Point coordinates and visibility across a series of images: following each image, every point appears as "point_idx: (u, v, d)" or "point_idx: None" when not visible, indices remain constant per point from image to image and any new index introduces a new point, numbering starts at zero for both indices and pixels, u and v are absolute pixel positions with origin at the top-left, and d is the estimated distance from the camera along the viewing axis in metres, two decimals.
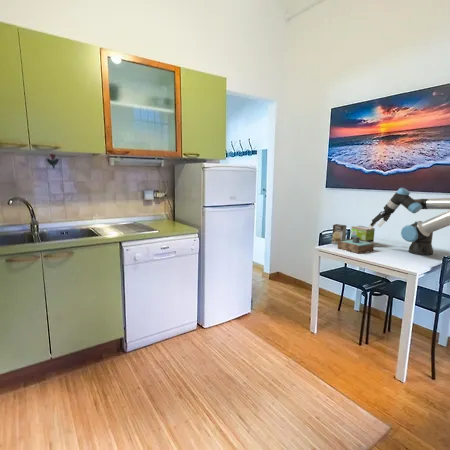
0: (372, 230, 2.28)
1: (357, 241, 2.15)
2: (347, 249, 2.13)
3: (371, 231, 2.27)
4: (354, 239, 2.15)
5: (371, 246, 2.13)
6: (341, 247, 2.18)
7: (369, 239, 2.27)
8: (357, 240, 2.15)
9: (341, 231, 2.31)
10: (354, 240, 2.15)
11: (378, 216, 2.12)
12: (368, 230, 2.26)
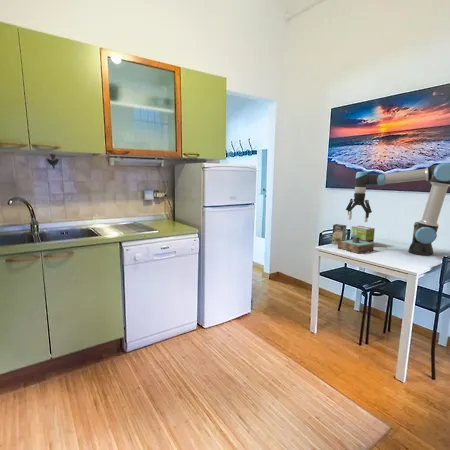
0: (372, 230, 2.28)
1: (357, 241, 2.15)
2: (347, 249, 2.13)
3: (371, 231, 2.27)
4: (354, 239, 2.15)
5: (371, 246, 2.13)
6: (341, 247, 2.18)
7: (369, 239, 2.27)
8: (357, 240, 2.15)
9: (341, 231, 2.31)
10: (354, 240, 2.15)
11: (368, 205, 2.05)
12: (368, 230, 2.26)
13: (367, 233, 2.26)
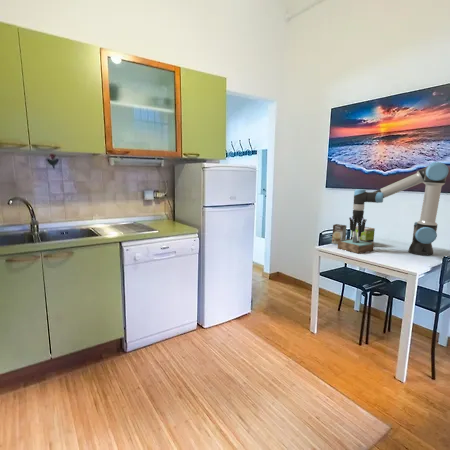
0: (372, 230, 2.28)
1: (357, 241, 2.15)
2: (347, 249, 2.13)
3: (371, 231, 2.27)
4: (354, 239, 2.15)
5: (371, 246, 2.13)
6: (341, 247, 2.18)
7: (369, 239, 2.27)
8: None
9: (341, 231, 2.31)
10: (354, 240, 2.15)
11: (364, 224, 2.10)
12: (368, 230, 2.26)
13: (367, 233, 2.26)
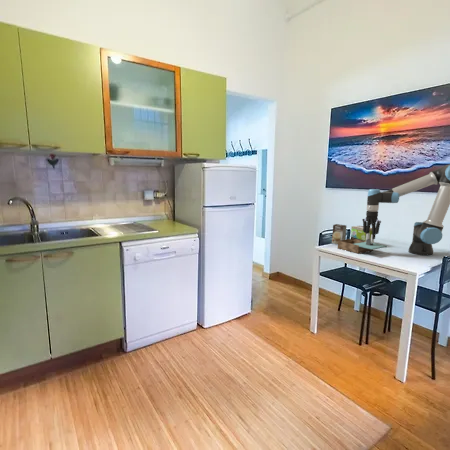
0: None
1: (371, 244, 2.06)
2: (347, 249, 2.13)
3: (371, 231, 2.27)
4: (368, 241, 2.06)
5: None
6: (341, 247, 2.18)
7: None
8: None
9: (341, 231, 2.31)
10: (368, 242, 2.06)
11: (378, 226, 2.00)
12: None
13: None
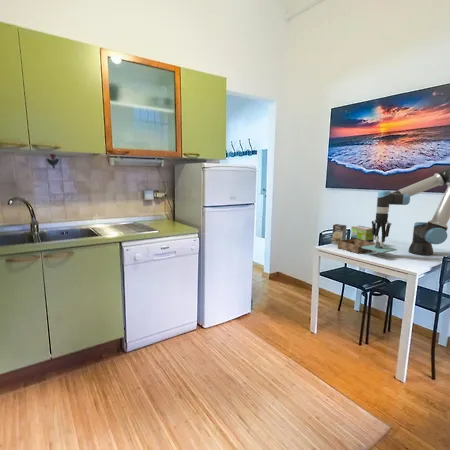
0: None
1: (380, 247, 1.99)
2: (347, 249, 2.13)
3: (371, 231, 2.27)
4: (377, 244, 1.99)
5: None
6: (341, 247, 2.18)
7: (369, 239, 2.27)
8: None
9: (341, 231, 2.31)
10: (377, 245, 2.00)
11: (388, 229, 1.94)
12: (368, 230, 2.26)
13: (367, 233, 2.26)
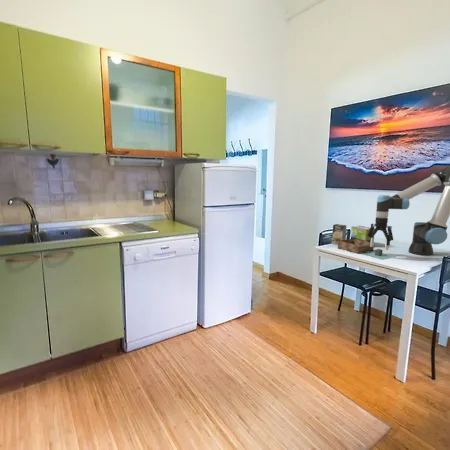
0: None
1: (380, 254, 2.00)
2: (347, 249, 2.13)
3: None
4: (377, 252, 2.00)
5: None
6: (341, 247, 2.18)
7: (369, 239, 2.27)
8: (380, 253, 2.00)
9: (341, 231, 2.31)
10: (377, 253, 2.00)
11: (390, 232, 1.93)
12: (368, 230, 2.26)
13: (367, 233, 2.26)
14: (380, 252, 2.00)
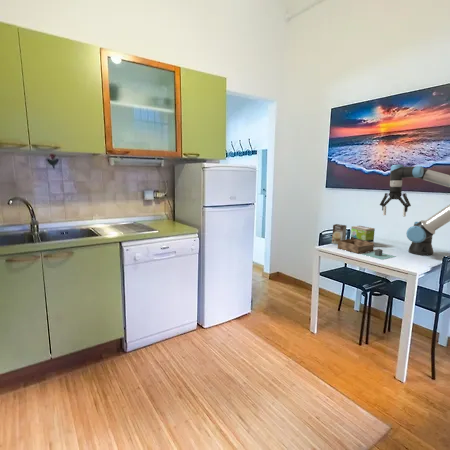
0: (372, 230, 2.28)
1: (380, 254, 2.00)
2: (347, 249, 2.13)
3: (371, 231, 2.27)
4: (377, 252, 2.00)
5: (371, 246, 2.13)
6: (341, 247, 2.18)
7: (369, 239, 2.27)
8: (380, 253, 2.00)
9: (341, 231, 2.31)
10: (377, 253, 2.00)
11: (406, 198, 1.98)
12: (368, 230, 2.26)
13: (367, 233, 2.26)
14: (380, 252, 2.00)
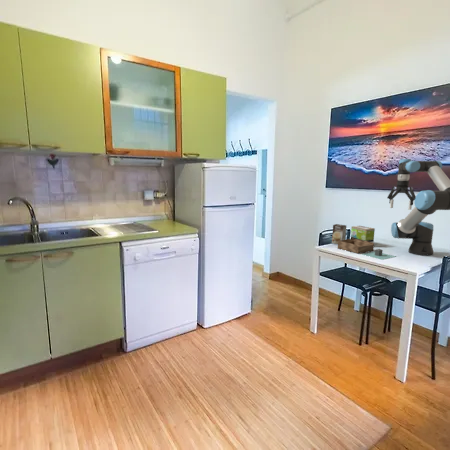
0: (372, 230, 2.28)
1: (380, 254, 2.00)
2: (347, 249, 2.13)
3: (371, 231, 2.27)
4: (377, 252, 2.00)
5: (371, 246, 2.13)
6: (341, 247, 2.18)
7: (369, 239, 2.27)
8: (380, 253, 2.00)
9: (341, 231, 2.31)
10: (377, 253, 2.00)
11: (413, 192, 2.05)
12: (368, 230, 2.26)
13: (367, 233, 2.26)
14: (380, 252, 2.00)
